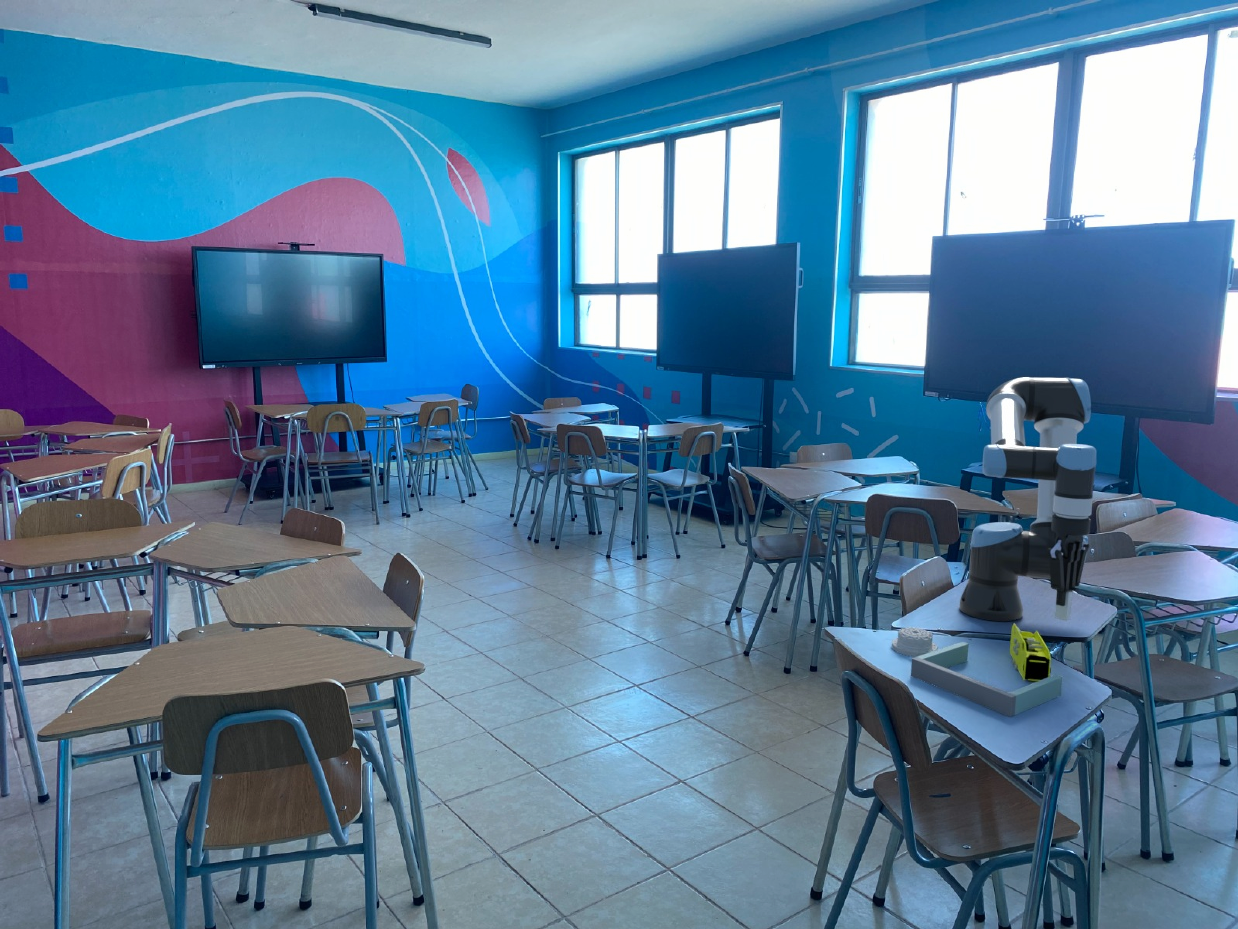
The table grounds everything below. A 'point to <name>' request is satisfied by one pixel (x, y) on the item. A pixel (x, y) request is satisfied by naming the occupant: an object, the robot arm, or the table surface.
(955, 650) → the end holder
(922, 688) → the table surface
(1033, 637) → the yellow toy chassis
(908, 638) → the white cake
